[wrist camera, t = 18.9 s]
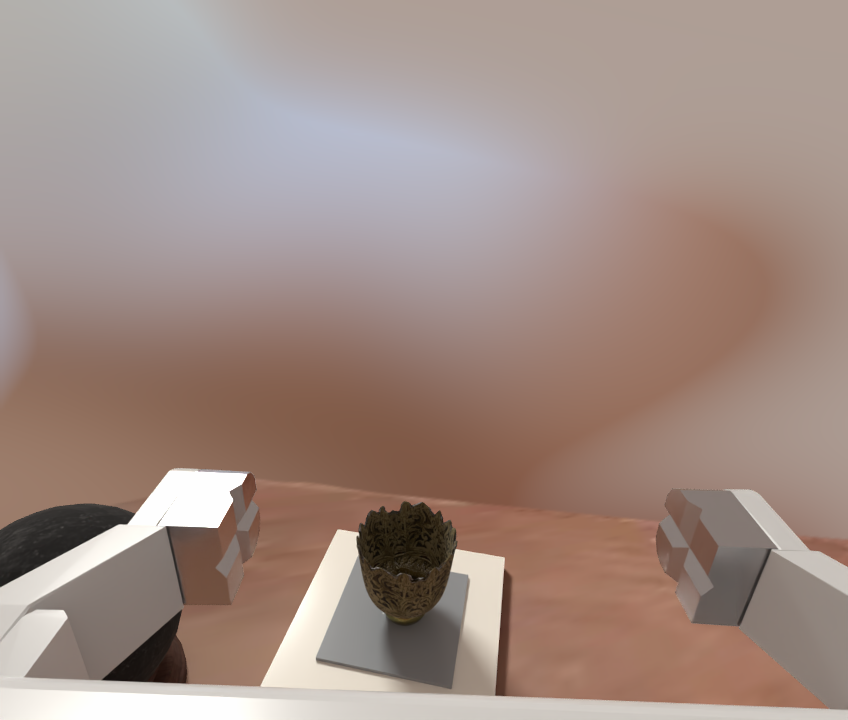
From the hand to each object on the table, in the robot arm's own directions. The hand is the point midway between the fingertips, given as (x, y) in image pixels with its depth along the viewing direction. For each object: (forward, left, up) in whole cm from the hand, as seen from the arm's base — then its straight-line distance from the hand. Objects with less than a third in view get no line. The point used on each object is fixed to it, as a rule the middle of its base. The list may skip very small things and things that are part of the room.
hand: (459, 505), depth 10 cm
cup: (+5, -20, -29) cm, 36 cm away
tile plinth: (+6, -20, -30) cm, 37 cm away
